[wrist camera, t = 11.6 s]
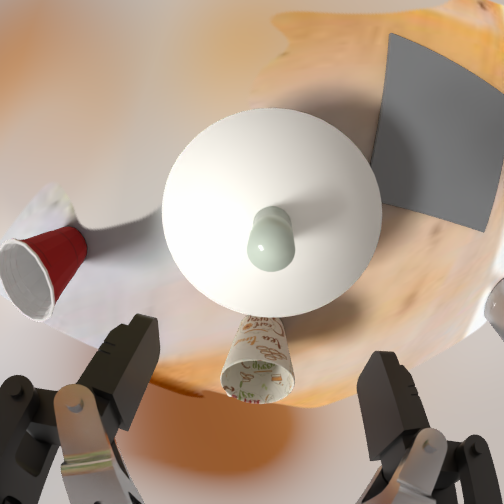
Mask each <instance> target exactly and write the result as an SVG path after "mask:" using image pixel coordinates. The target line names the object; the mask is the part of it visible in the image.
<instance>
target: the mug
mask: <svg viewBox="0 0 504 504" xmlns="http://www.w3.org/2000/svg"><path fill="white" fill-rule="evenodd" d="M220 380H221V385H222V387H223V388H224V390H225V391H226V393H227V395H228V396H230V397H232V396H233V397H234V398H236V399H238V400H241V401H244V402H248V403H255V404H265V403H272V402H275V401H278V400H281V399H283V398H284V397H286V396H287V395H289V394H290V392H291V391H292V390H293V388H294V384H295V377H294V372H293V367H292V362H291V358H290V353H289V349H288V344H287V339H286V335H285V330H284V326H283V323H282V321H281V320H280V319H279V318H278V317H271V318H268V317H258V316H252V315H247V316H246V317H245V318H244V319H243V320H242V322H241V324H240V326H239V328H238V331H237V334H236V336H235V339H234V341H233V344H232V346H231V349H230V352H229V354H228V357H227V359H226V362H225V364H224V367H223V369H222V372H221V377H220Z"/></svg>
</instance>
